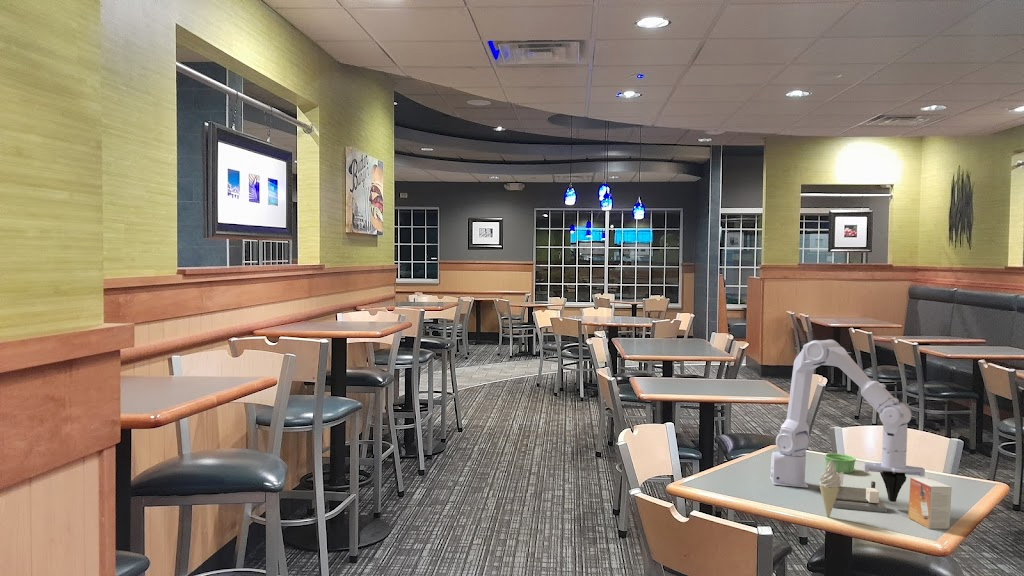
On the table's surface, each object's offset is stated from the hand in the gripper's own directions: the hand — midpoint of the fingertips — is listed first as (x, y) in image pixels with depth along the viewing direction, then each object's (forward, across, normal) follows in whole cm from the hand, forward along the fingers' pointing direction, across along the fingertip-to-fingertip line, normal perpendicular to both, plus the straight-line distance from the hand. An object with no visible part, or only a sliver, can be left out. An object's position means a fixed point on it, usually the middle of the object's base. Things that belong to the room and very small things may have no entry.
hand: (892, 500), depth 190 cm
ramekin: (+3, -4, +39) cm, 39 cm away
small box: (+2, +6, -10) cm, 12 cm away
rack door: (+1, -11, +11) cm, 16 cm away
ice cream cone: (+2, -18, -13) cm, 23 cm away
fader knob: (+1, -5, 0) cm, 5 cm away
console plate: (+2, -9, +5) cm, 10 cm away
